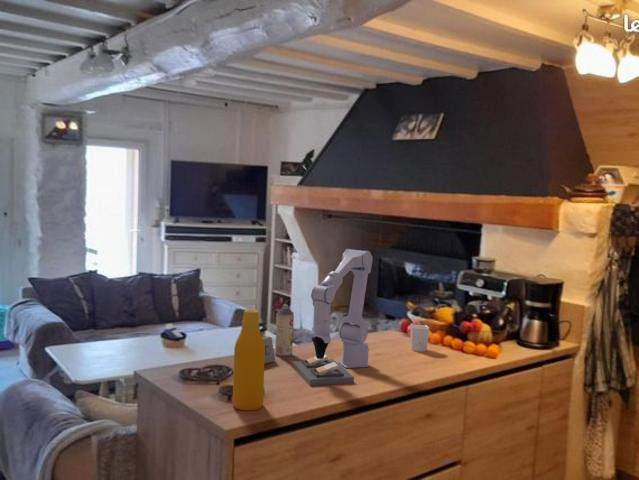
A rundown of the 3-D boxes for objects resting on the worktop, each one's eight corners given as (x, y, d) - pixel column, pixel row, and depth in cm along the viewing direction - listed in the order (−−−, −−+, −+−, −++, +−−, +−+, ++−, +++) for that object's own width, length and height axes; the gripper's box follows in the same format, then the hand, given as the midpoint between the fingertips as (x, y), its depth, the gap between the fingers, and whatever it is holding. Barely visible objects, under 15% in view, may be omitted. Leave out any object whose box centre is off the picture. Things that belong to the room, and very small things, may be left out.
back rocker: (325, 357, 222) (323, 353, 221) (328, 360, 218) (327, 356, 217) (307, 363, 220) (306, 359, 220) (311, 367, 216) (309, 362, 216)
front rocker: (335, 366, 211) (333, 361, 211) (339, 369, 207) (337, 365, 207) (316, 372, 209) (315, 368, 209) (320, 376, 205) (319, 372, 205)
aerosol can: (291, 357, 233) (293, 307, 232) (273, 356, 234) (276, 306, 232) (292, 352, 240) (295, 303, 239) (276, 351, 241) (278, 302, 239)
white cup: (429, 352, 250) (430, 329, 249) (410, 351, 250) (412, 328, 249) (426, 347, 258) (427, 325, 257) (408, 346, 258) (409, 324, 257)
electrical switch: (258, 366, 220) (257, 341, 220) (248, 364, 223) (247, 339, 223) (275, 361, 227) (274, 337, 227) (265, 359, 230) (265, 336, 230)
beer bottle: (254, 413, 174) (257, 315, 172) (226, 407, 177) (229, 311, 175) (268, 403, 183) (272, 310, 180) (241, 398, 186) (244, 306, 184)
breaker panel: (332, 364, 227) (332, 354, 226) (353, 382, 206) (354, 372, 206) (291, 366, 222) (292, 356, 221) (309, 385, 201) (310, 374, 200)
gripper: (304, 315, 212) (302, 352, 213) (317, 325, 198) (315, 364, 200) (323, 315, 214) (321, 352, 215) (337, 324, 201) (335, 363, 202)
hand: (319, 358), depth 208 cm, fingers closed
